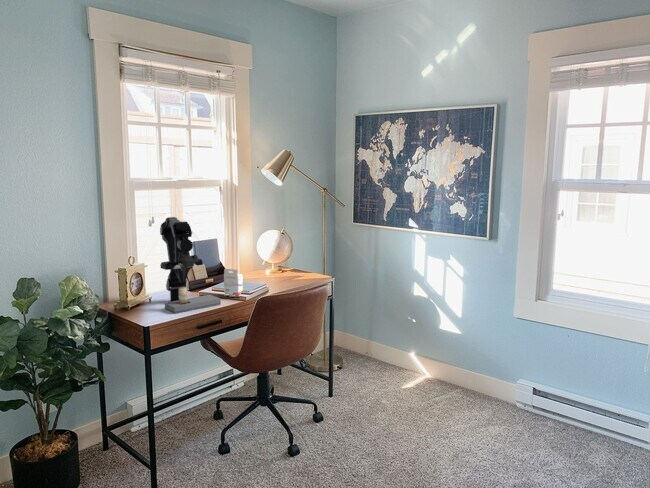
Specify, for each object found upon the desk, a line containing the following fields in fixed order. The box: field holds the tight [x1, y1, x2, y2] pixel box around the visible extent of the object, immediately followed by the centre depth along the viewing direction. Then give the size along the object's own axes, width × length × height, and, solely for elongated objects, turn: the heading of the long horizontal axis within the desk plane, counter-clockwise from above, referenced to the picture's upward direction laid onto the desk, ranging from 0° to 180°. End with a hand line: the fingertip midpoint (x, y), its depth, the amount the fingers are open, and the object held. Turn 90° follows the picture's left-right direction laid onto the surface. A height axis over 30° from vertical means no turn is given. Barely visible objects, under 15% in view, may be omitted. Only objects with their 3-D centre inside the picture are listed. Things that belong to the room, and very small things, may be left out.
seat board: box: [164, 294, 222, 315], centre depth 251 cm, size 10×24×3 cm, turn 133°
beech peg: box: [179, 286, 189, 305], centre depth 247 cm, size 4×4×9 cm
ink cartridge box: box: [223, 268, 244, 296], centre depth 270 cm, size 9×5×15 cm, turn 68°
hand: (182, 281), depth 246 cm, fingers closed
